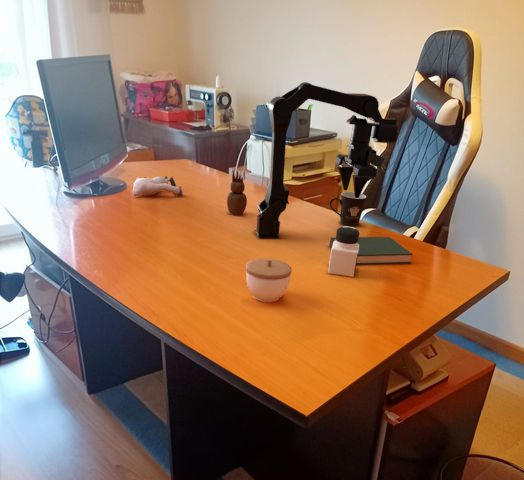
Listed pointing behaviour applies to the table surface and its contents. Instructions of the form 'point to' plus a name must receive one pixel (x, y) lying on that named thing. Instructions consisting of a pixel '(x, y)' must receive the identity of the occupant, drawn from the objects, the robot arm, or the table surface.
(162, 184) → the yeti figurine
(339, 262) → the medicine bottle
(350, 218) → the coffee mug
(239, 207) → the wooden figurine
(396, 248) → the book
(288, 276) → the trinket box
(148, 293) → the table surface
